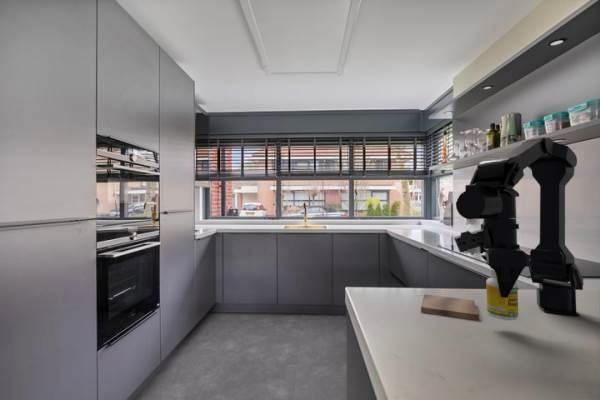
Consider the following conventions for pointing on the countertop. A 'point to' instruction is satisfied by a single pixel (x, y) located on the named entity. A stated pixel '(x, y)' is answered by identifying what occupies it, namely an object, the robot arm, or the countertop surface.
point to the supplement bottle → (501, 300)
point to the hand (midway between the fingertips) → (501, 293)
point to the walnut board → (449, 306)
